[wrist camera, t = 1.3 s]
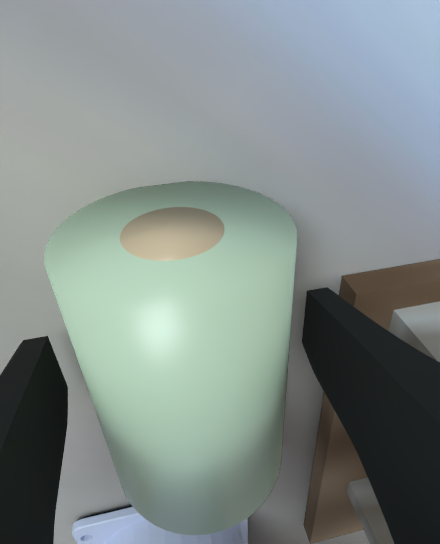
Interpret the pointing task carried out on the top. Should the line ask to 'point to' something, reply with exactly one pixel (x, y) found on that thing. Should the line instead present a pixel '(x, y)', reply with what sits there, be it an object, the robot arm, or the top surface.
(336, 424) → the holder
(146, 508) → the roll
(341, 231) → the top surface
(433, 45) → the top surface
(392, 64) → the top surface
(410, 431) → the robot arm
